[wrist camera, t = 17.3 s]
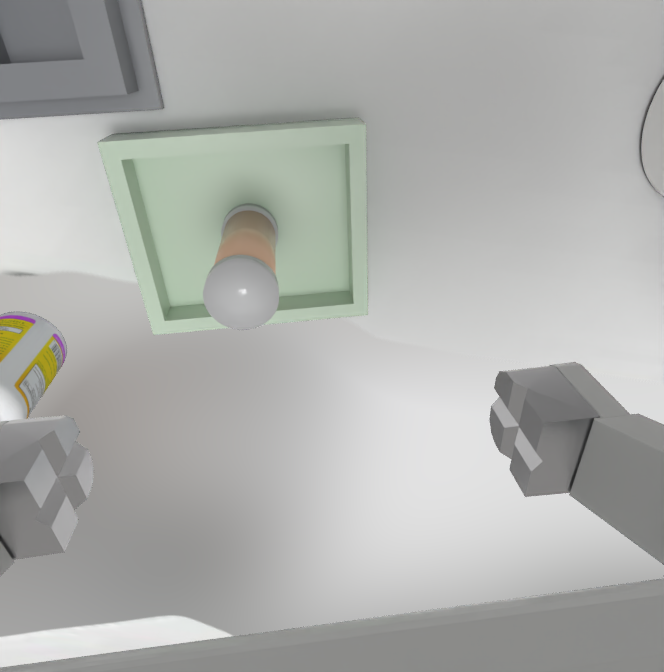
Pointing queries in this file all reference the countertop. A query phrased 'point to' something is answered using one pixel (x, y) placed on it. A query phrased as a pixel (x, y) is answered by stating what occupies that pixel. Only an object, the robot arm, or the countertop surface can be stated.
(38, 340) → the supplement bottle
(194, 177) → the parts tray
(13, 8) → the socket block
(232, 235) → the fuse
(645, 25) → the countertop surface
